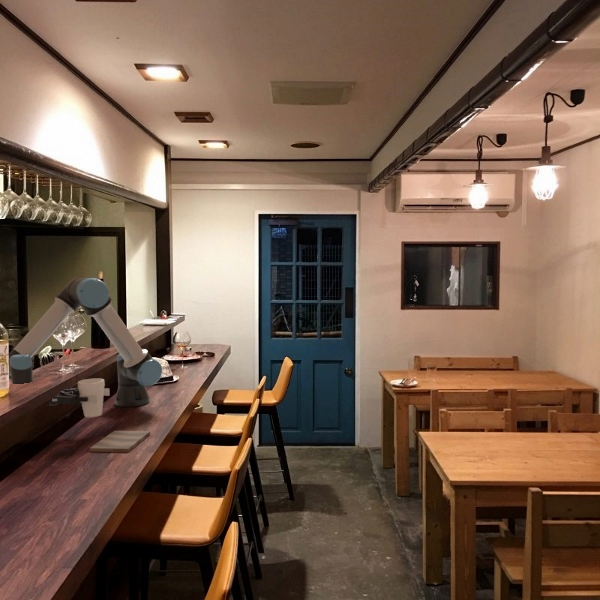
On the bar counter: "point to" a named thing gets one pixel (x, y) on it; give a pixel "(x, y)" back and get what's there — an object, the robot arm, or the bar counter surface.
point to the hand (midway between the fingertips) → (103, 395)
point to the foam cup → (92, 388)
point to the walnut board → (120, 441)
